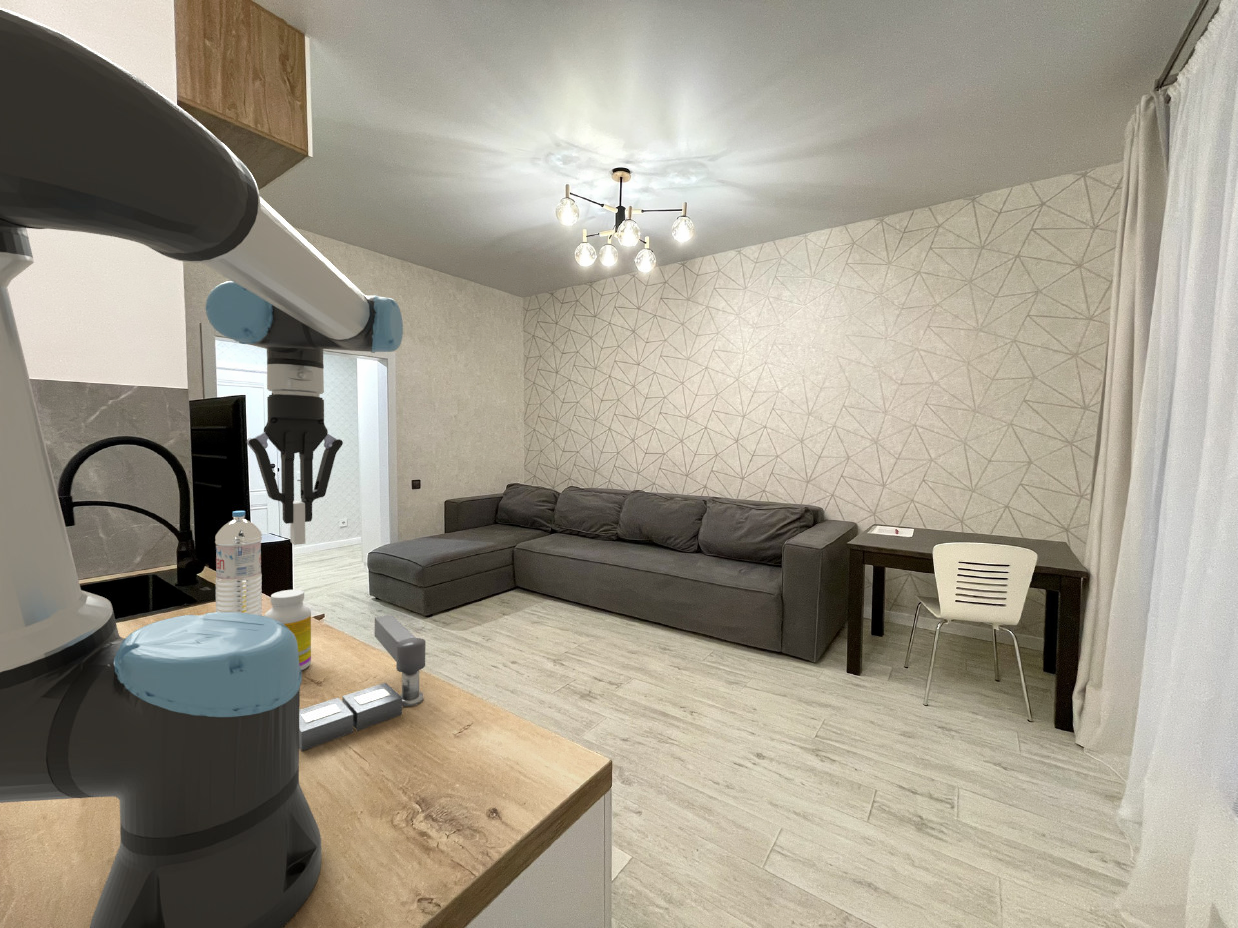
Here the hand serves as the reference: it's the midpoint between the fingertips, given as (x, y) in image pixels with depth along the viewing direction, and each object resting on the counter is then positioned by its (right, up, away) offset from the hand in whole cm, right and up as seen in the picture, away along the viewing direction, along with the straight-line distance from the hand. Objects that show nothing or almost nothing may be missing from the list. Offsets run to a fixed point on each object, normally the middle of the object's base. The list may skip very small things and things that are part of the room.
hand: (297, 542), depth 81 cm
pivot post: (+20, -23, -5) cm, 31 cm away
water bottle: (-19, -21, +13) cm, 32 cm away
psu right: (+16, -23, -9) cm, 30 cm away
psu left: (+12, -23, -14) cm, 29 cm away
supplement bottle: (-4, -22, +4) cm, 23 cm away
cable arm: (+16, -17, 0) cm, 24 cm away
